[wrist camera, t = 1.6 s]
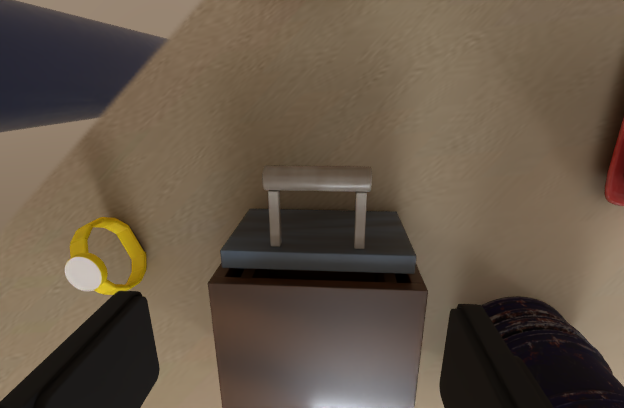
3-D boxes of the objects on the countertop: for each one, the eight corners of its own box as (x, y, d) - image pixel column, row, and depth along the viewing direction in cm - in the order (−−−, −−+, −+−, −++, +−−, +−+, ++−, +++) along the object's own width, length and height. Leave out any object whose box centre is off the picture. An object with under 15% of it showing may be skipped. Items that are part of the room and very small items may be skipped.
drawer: (245, 145, 26) (211, 169, 19) (401, 147, 25) (425, 171, 18) (258, 339, 32) (235, 410, 25) (386, 344, 31) (400, 420, 24)
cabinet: (246, 223, 29) (207, 283, 21) (401, 227, 28) (428, 291, 20) (255, 356, 34) (227, 450, 25) (389, 363, 33) (407, 463, 24)
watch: (163, 263, 31) (124, 303, 25) (137, 274, 32) (94, 316, 26) (124, 204, 29) (73, 233, 24) (98, 217, 30) (42, 248, 24)
